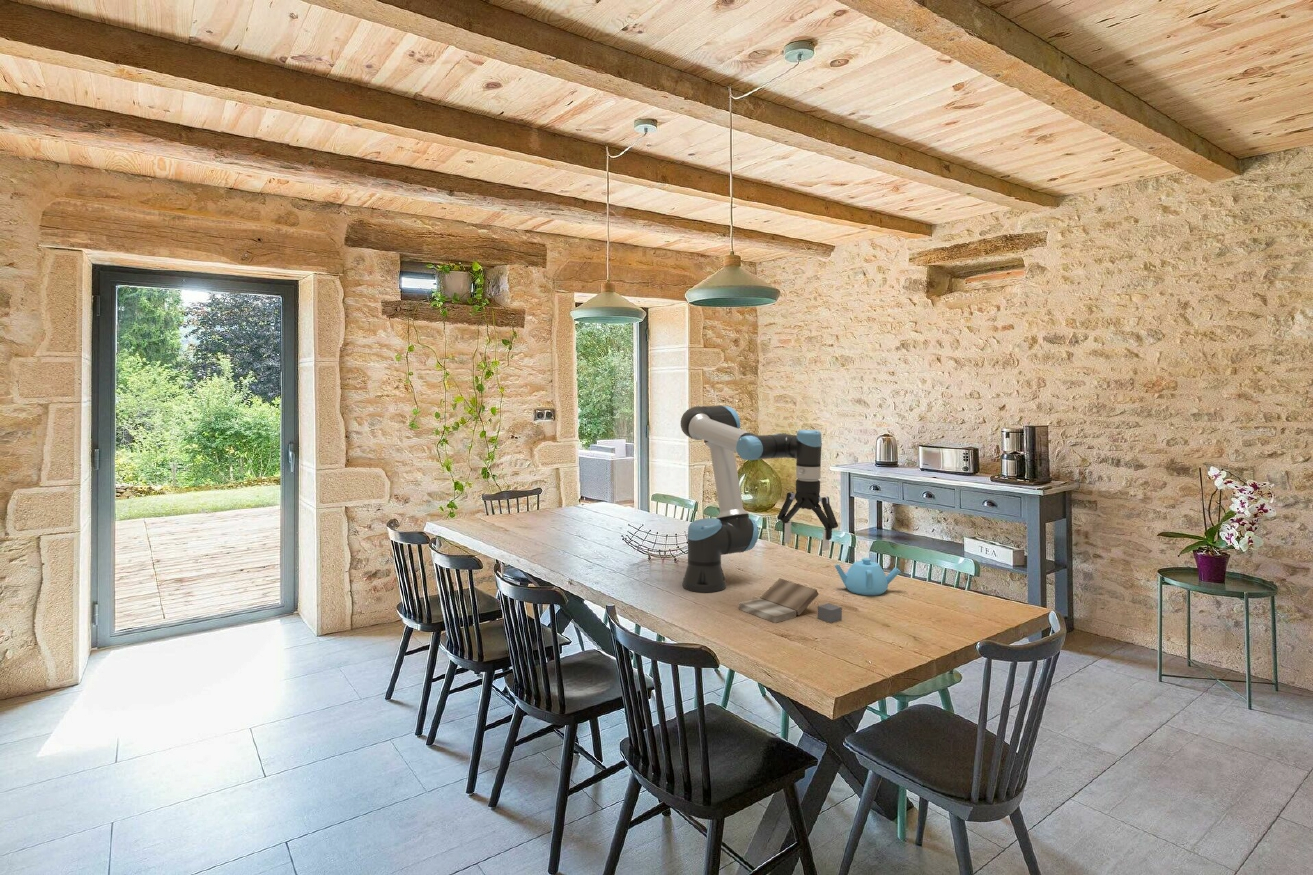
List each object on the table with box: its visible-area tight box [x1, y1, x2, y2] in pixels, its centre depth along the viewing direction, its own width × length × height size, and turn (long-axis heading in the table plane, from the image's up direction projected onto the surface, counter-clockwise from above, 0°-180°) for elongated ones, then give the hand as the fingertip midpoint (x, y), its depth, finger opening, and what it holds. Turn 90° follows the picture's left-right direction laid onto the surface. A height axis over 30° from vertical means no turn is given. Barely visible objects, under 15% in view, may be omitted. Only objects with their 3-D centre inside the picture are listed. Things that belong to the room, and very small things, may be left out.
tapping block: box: [817, 603, 843, 624], centre depth 211 cm, size 5×5×4 cm
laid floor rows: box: [738, 597, 797, 624], centre depth 217 cm, size 16×9×2 cm, turn 35°
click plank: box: [759, 578, 819, 616], centre depth 222 cm, size 16×10×2 cm
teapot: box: [834, 557, 902, 596], centre depth 241 cm, size 15×17×11 cm
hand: (806, 546), depth 220 cm, fingers open, 13 cm apart
